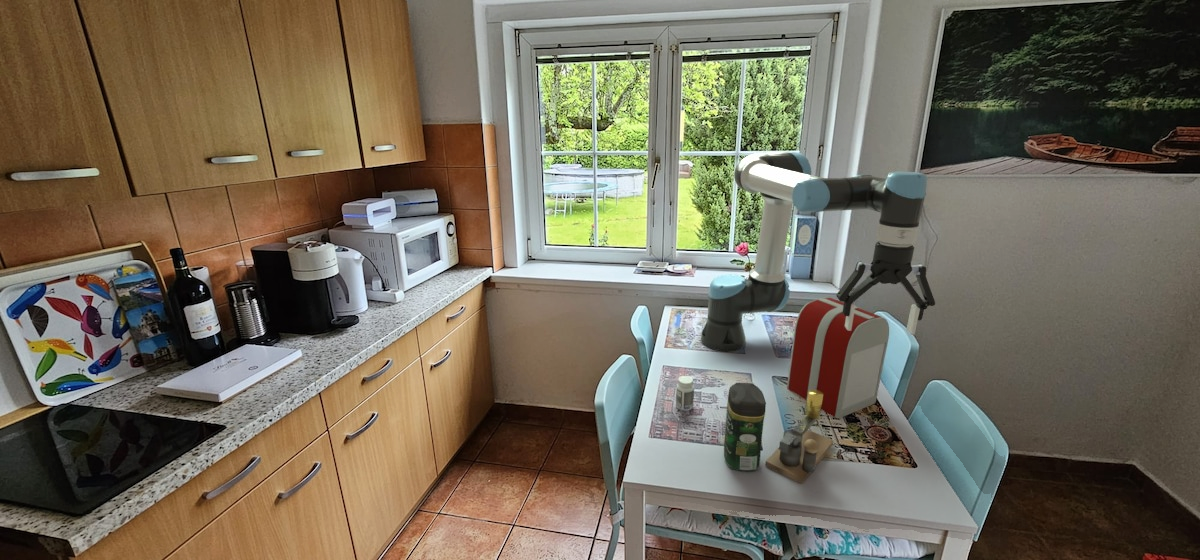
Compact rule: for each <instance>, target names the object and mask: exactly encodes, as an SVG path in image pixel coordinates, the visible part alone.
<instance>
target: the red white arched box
mask: <svg viewBox="0 0 1200 560" xmlns="http://www.w3.org/2000/svg"><path fill="white" fill-rule="evenodd" d="M843 306H844V302H843V301H840V300H839V299H835V298H832V297H820V298H817V299H814V300H810V301H809V302H807V303H806V304H804V306H802V308H801V309H800V311H799V313H798V315H797V318H796V321H795V325H794V331H793V332H794V333H793V339H792V346H791V354H790V363H789V368H788V376H787V385H786V389H787V390H789V391H791V393H793V394H795V395H797V396H799V397H800V398H802V399H804V400H805V401H806V402H807V399H808V392H809V390H818V391H821V392H822V393H823V400H822V406H821V411H823V412H825V413H826V414H828V415H830V416H832V417H833V418H835V419H841V418H843V417H847V416H848V415H851V414H853V413H855V412H857V411H860V410H863V409H864V408H867V407H870V406H871V405H874V404H876V402H877V397H878V394H879V393H878V392H879V388H880V383H881V378H882V372H883V368H884V363H885V359H886V353H887V348H888V343H889V339H890V326H889V322H888V320H887V319H886V318H885V317H883V316H881V315H878V314H875V313H873V312H869V311H867V310H864V309H862V308H861V307H859V306H856V305H855V311H854V317H853V323H852V329H851V331H848V330H847V329H846V327H845V320H846V316H844V314H843Z"/></svg>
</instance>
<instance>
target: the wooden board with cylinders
mask: <svg viewBox="0 0 1200 560" xmlns="http://www.w3.org/2000/svg"><path fill="white" fill-rule="evenodd" d="M833 445H834V440H833V439H830V438H829V437H826V436H824V435H821V434H819V433H816V432H814V431H812V430H810V429H808V430H807V431H806V432H805V434H804V435H803V436H802V444H801V446H800V447H798V448H792V449H791V450H790V451H789V453H788V454H787V453H785V452H783V451H781V450H779V447H778V448H777V449H776V450H774V452H773V453H772V454H771V455H770V456H769V457H768V458H767V459H766V460H765V463H764V464H765V466H766V467H768V468H770V469H772V470H774V471H776V472H778V473H780V474H782V475H783V476H786V477H788V478H790V479H791V480H794V481H796V482H798V483H800V484H801V485H802V484H803V483H804V482H805V481H806V480H807V478H808V477H809V475H810V474H812V473H814V471H815V468H816V467H817V466H818V464H819V463H820V462H821V460H823V458H824V456H825V455H826V454H827V452H828V451H830V449H831V448H832V446H833Z"/></svg>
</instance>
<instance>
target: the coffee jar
mask: <svg viewBox="0 0 1200 560" xmlns="http://www.w3.org/2000/svg"><path fill="white" fill-rule="evenodd" d="M727 395H728V396H727V403H726V404H727V405H726V414H725V415H726V416H725V418H726V419H725V432H724V442H723V454H724V455H723V456H724V458H725V461H726V462H725V463H726V464H727V465H728V467H729V468H732V469H734V470H737V471H739V472H740V471H741V472H752V471H753V472H754V471H755V470H758V468H759V466H760V463H761V462H760V461H761V451H762V440H763V432H764V431H763V429H764V422H765V416H766V406H767V405H766V404H767V402H766V399H765V396H764V393H763V391H762V390H761V389H760V388H759V387H758V386H757V385H755V383H753V382H735V383H734V384H732V385H730V387H729V389H728V394H727Z"/></svg>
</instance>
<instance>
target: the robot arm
mask: <svg viewBox="0 0 1200 560" xmlns="http://www.w3.org/2000/svg"><path fill="white" fill-rule="evenodd" d="M733 176H734V182H735V183H736V186H738V188H739V189H741V190H743V191H745V192H747V193H751V194H759V193H760V196H761V197H762V199H763V200H764V202H763V210H762V216H761V222H760V229H759V236H758V242H757V248H756V249H757V250H756V256H755V263H754V268H752V269H750V270H749V272H748V273H749V274H748V277H747V278H748V279H747V278H745V277H744V276H742V275H739V274H723V275H720V276H717V277H714V278H713V279H712V281H711V282H710V283H709V290H708V304H707V305H708V306H707V320H706V322H705V324H704V326H703V329H702V331H701V335H700V341H701V343H702V344H703V345H705V346H706V347H708V348H710V349H712V350H715V351H716V350H717V351H720V352H721V351H722V352H735V351H739V350H740V349H743V348H744V347H745V345H746V338H747V337H746V334H745V330H744V326H743V315H744V314H754V313H755V314H756V313H765V312H766V313H771V312H775V311H780V310H782V309H784V308H785V306H786V305H787V304H788V302H789V298H790V295H791V292H790V291H791V290H790V289H789V288H790V284H789V282H788V280H787V278H786V277H785V276H786V275H785V274H784V273H783V272H782V269H783V262H784V257H785V252H786V246H787V240H788V239H787V238H788V234H789V227H790V223H791V216H792V212H793V211H792V210H793V206H794V207H795V208H796V210H797V211H799V212H802V213H815V214H816V213H821V212H835V211H858V210H870V211H874V212H877V213H880V217H879V220H878V222H879V223H878V228H877V234H876V236H875V237H876V238H875V239H876V241H877V242H875V245H874V250H873V255H872V261H871V263H865V262H862V261H861V260H860V261H857V263H856V265H855V268H854V271H853V272H852V273H851V275H850V276H849V277H848V279H847V280H846V281H845V283H844V284H843V285H842V286H841V287H840V290H839V291H838V292H837V293H836V298H837V300H838V301H841V302H843V303H844V306H843V314H844V316H846V320H845V327H846V329H847V330H848V331H851V329H852V323H853V317H854V311H855V306H856V303H854V302H855V301H857V300H858V299H859V298H860V297H861V296H862V295H864V294H865V293H866V292H868V291H869V290H870V289H871V288H872V287H874V286H876V285H878V284H879V283H880V284H891V285H897V284H901V285H902V287H903V288H904V289H905V291H906V292H907V293H908V295H909V296H910V297H911V299H912V300H913V301H914V303H915V304H914V303H913V304H911V306H910V310H909V316H908V320H907V325H906V331H907V332H908V333H909V334H910V335H911V336H913V335H914V336H915V335H916V329H917V326H918V325H917V324H918V322H919V321H922V319H923V317H924V316H923V315H924V311H925V310H926V309H928V307H930V306H931V307H934V306H935V305H936V300H935V298H934V295H933V293H932V290H931V287H930V284H929V282H928V278H927V276H926V275H927V267H926V266H925V265H923V264H921V263H917V264H915V265H912V261H913V257H914V256H913V255H914V252H915V247H914V244H916V242H917V235H918V232H919V226H920V220H921V215H922V212H923V207H924V202H925V197H926V195H927V187H928V186H927V183H928V177H927V175H926V174H925V173H924V172H918V171H914V172H913V171H903V170H902V171H891V172H889V173H888V175H887V177H886V178H885V177H879V176H873V175H871V174H855V175H853V176H852V177H839V178H838V177H835V178H834V177H833V178H831V177H830V178H829V177H827V178H826V177H820V176H817V175H816V176H815V175H813V174H812V167H811V164H810V161H809V159H808V158H807V156H805V154H803V153H800V152H794V151H780V152H779V151H778V152H764V153H763V152H757V153H751V154H749V155H747V156H745V157H744V158H742V159H741V160H739V162H738V163H737V165H736V167H735V168H734V173H733ZM868 270H870V271H871V273H870V274H869V275H868V276H867V277H866V278H865V279H864V280H863V281H862V282H861V283H859V284H858V282H859V281H860V280H861V278H862V277H863V275H864V274H866V273H867V272H868ZM911 272H912V273H913V274H914V275H915V277H916V280H917V282H918V285H919V288H920V291H921V294H922V297H923V299H922V297H920V295H919V293H918V292H917V291H916V289H915V288H914V287H913V286H912V284H911V283H910V281H909V279H908V278H907V277H908V275H909V274H911ZM857 284H858V285H857ZM856 285H857V286H856ZM855 286H856V287H855Z"/></svg>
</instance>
